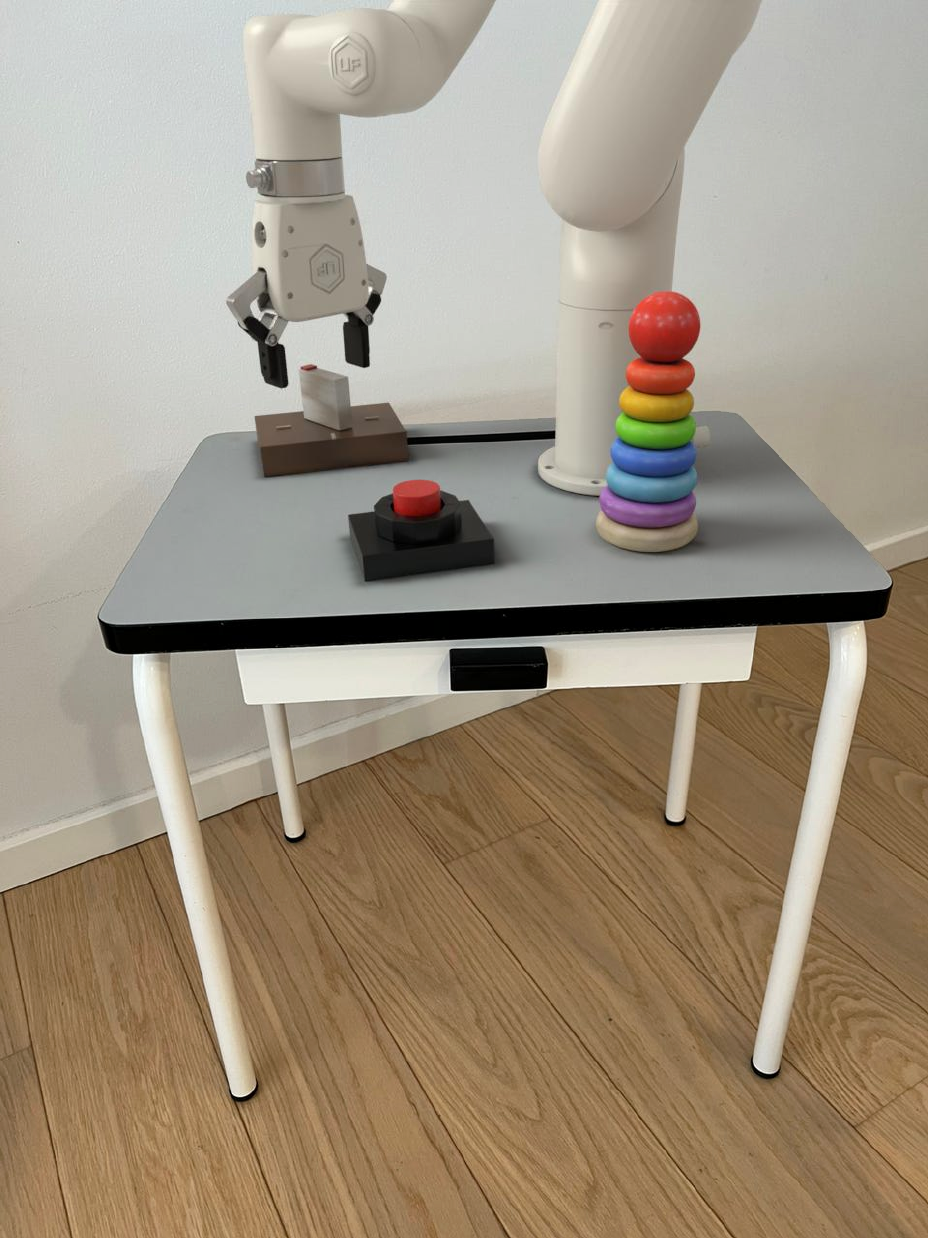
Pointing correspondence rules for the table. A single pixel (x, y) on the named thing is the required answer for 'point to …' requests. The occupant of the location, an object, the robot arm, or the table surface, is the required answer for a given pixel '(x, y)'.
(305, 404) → the grey rectangular block
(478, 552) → the switch block
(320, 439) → the brown base block
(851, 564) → the table surface
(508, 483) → the table surface
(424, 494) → the button
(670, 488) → the stacking toy
